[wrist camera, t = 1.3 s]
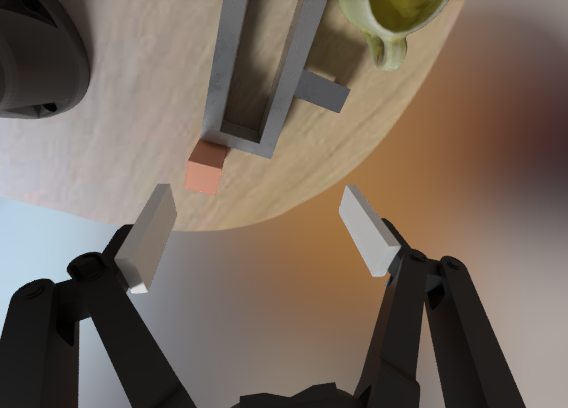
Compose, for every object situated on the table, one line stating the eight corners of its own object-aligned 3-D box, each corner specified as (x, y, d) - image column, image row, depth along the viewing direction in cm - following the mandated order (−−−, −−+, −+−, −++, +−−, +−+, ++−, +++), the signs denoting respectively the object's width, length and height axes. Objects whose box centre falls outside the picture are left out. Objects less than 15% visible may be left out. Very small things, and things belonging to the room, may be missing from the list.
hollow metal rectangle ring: (206, 126, 31) (200, 138, 27) (240, -66, 21) (238, -92, 17) (307, 157, 36) (314, 171, 32) (372, 10, 26) (395, 4, 22)
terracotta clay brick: (200, 153, 33) (183, 188, 25) (204, 130, 31) (187, 160, 23) (223, 159, 34) (215, 195, 26) (229, 138, 33) (222, 169, 24)
